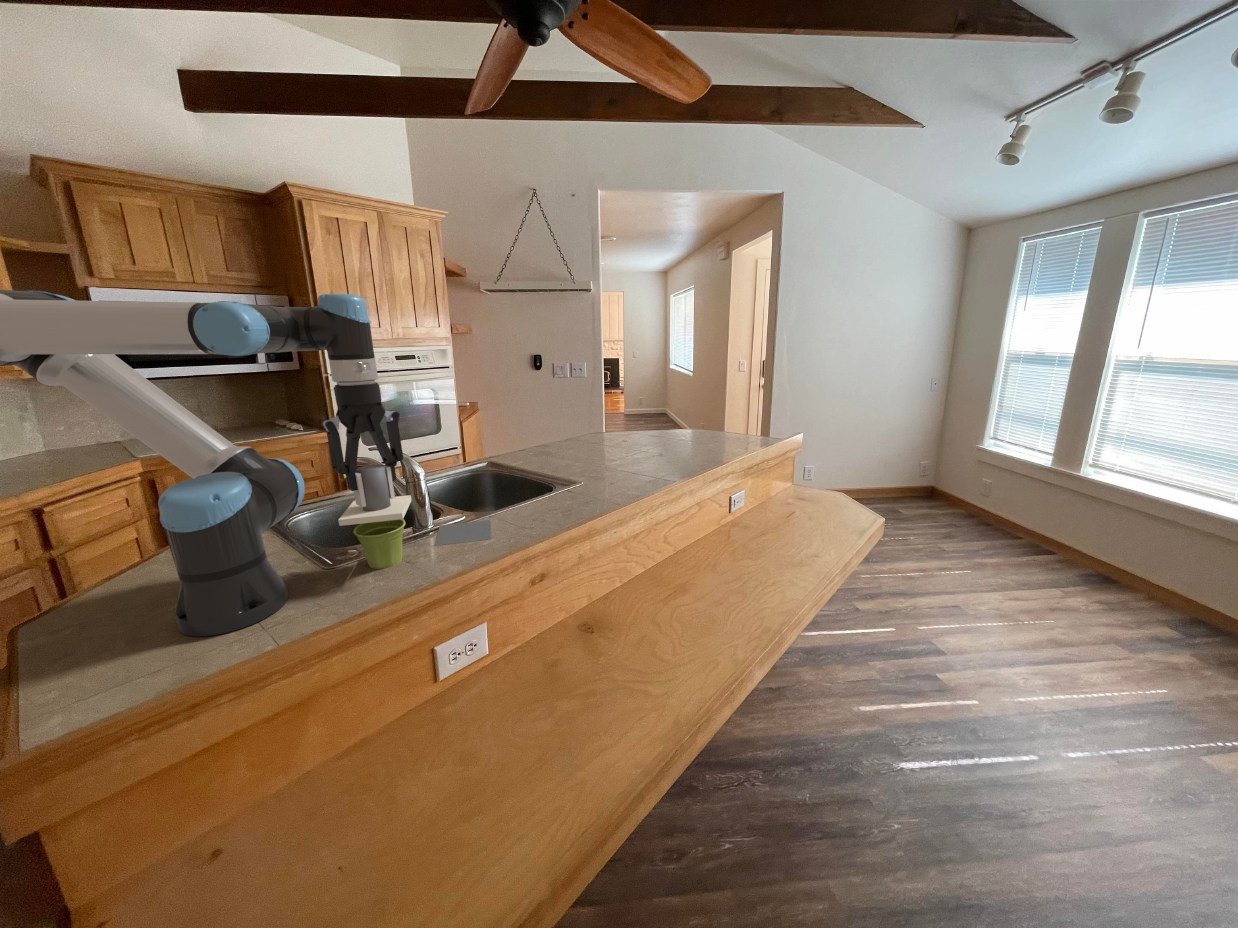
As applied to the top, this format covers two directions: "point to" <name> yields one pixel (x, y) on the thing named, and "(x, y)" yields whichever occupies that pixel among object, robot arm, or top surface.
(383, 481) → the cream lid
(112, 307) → the robot arm
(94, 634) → the top surface
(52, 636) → the top surface
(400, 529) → the plant pot
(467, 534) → the charcoal mat
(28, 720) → the top surface
